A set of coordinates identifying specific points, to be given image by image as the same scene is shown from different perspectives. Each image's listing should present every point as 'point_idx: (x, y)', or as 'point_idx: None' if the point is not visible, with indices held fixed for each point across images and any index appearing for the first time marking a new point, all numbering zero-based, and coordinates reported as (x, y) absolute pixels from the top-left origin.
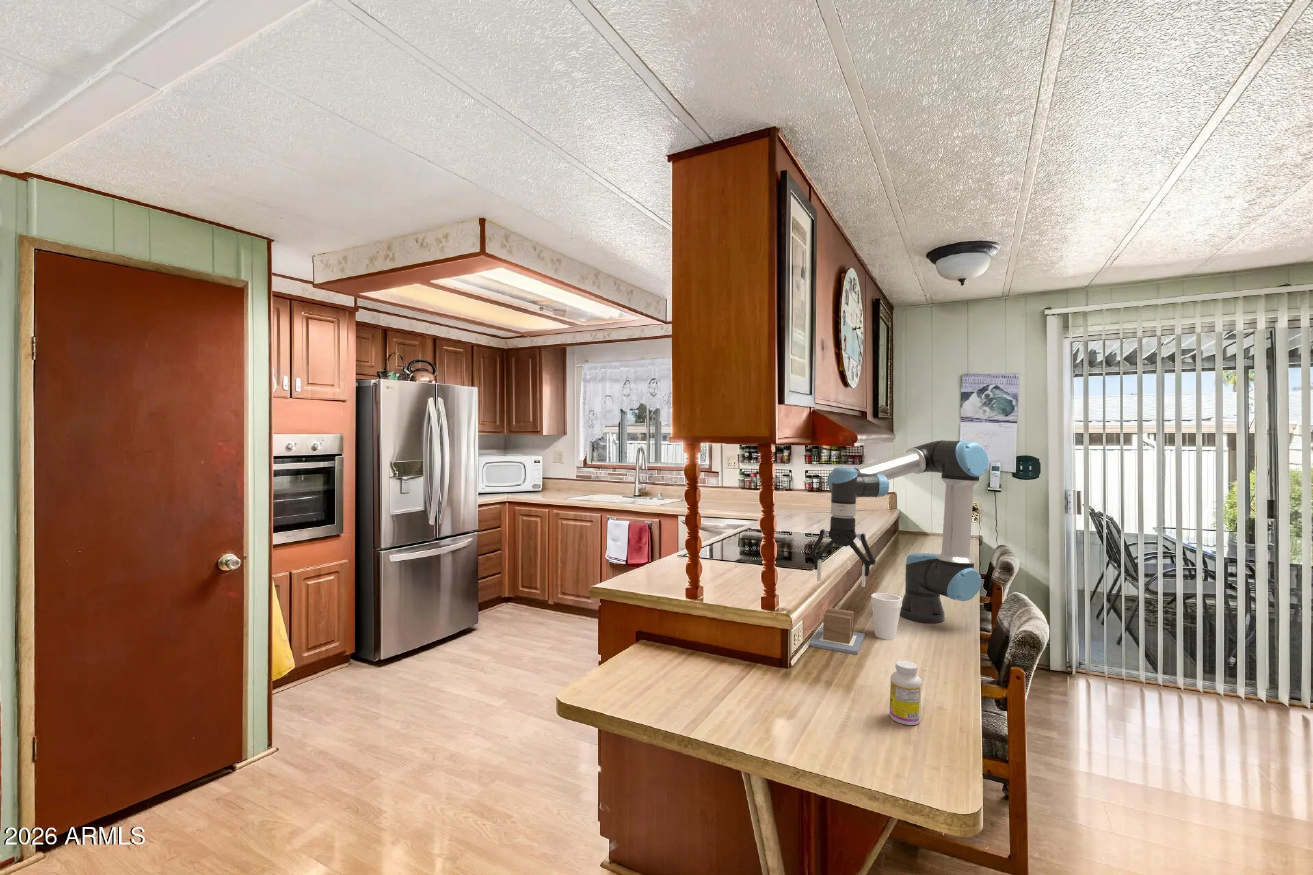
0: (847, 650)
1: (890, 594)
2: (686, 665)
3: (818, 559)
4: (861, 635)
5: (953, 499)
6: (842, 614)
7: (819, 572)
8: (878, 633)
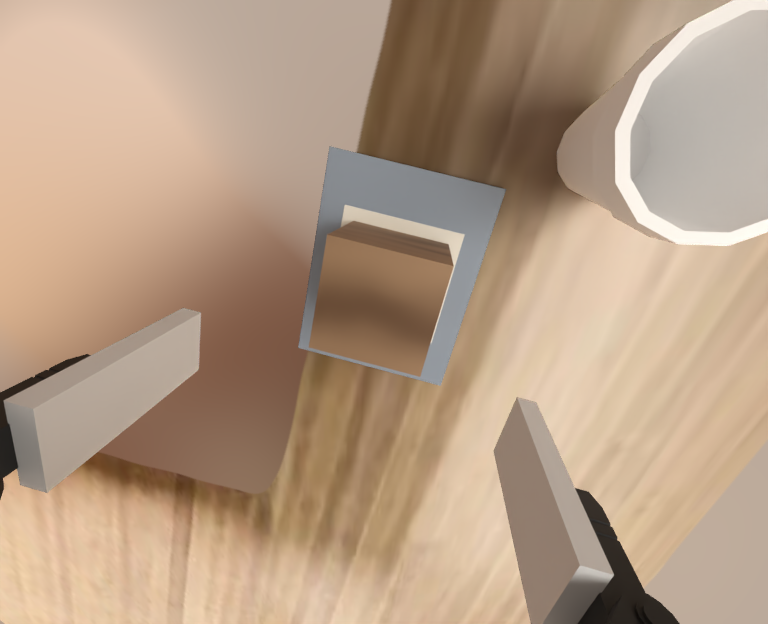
0: (410, 376)
1: None
2: (72, 506)
3: (7, 458)
4: (486, 219)
5: None
6: (390, 331)
7: (149, 407)
8: (567, 184)
